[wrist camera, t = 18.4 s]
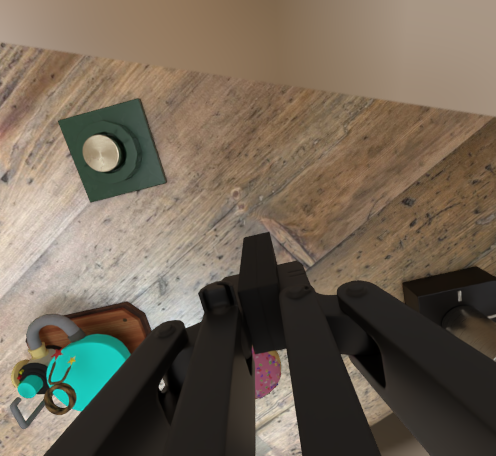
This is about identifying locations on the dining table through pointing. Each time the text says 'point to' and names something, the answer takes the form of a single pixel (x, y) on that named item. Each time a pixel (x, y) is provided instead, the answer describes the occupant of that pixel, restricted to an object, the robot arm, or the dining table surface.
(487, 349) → the hob knob
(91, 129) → the block
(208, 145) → the dining table surface
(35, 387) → the contraption on wooden base
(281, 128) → the dining table surface
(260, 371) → the cupcake
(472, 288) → the hob panel
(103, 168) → the button
